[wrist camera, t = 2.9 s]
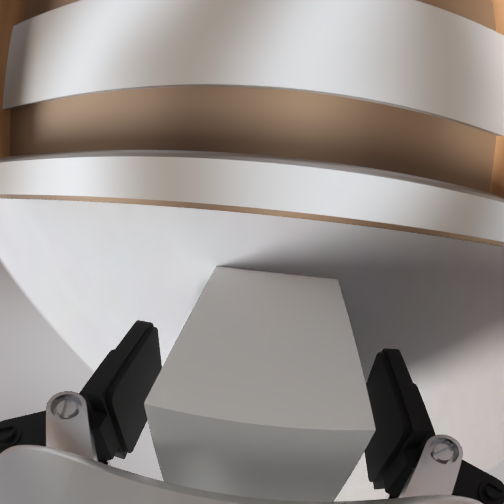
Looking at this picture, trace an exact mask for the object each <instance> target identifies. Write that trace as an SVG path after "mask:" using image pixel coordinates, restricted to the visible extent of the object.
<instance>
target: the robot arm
mask: <svg viewBox="0 0 504 504" xmlns="http://www.w3.org/2000/svg"><path fill="white" fill-rule="evenodd" d="M161 369H162V365H161V357H160V348H159V338H158V329H157V328H156V327H154V326H153V324H152V323H150V322H144V321H139V320H138V321H136V322H135V324H134V325H133V326H132V328H131V329H130V330H129V332H128V333H127V334H126V336H125V337H124V338H123V340H122V341H121V342H120V344H119V345H118V346H117V348H116V349H115V350H111V351H110V352H109V354H108V355H107V356H106V358H105V359H104V360H103V362H102V363H101V364H100V366H99V367H98V368H97V370H96V371H95V372H94V374H93V375H92V377H91V378H90V379H89V381H88V382H87V384H86V385H85V386H84V388H83V389H82V391H81V392H80V393H79V394H78V393H76V392H72V391H64V392H60V393H58V394H56V395H54V396H53V397H51V398H50V400H49V401H48V403H47V406H46V411H42V412H38V413H34V414H30V415H25V416H21V417H17V418H12V419H8V420H4V421H1V422H0V504H504V484H503V483H502V482H501V481H500V480H498V479H497V478H495V477H493V476H491V475H489V474H488V473H486V472H484V471H482V470H480V469H478V468H477V467H475V466H473V465H471V464H469V463H467V462H466V461H464V460H462V457H463V450H462V447H461V445H460V444H459V442H458V441H457V440H456V439H454V438H452V437H450V436H448V435H435V432H434V429H433V426H432V424H431V421H430V418H429V416H428V413H427V410H426V408H425V405H424V402H423V400H422V397H421V395H420V392H419V390H418V387H417V386H416V384H414V383H413V382H412V379H411V377H410V374H409V372H408V370H407V367H406V365H405V362H404V360H403V357H402V355H401V353H400V351H399V350H398V349H383V350H382V352H379V353H378V354H377V356H376V358H375V361H374V364H373V367H372V370H371V372H370V375H369V378H368V381H367V383H366V387H367V392H368V396H369V400H370V405H371V409H372V414H373V419H374V423H375V428H376V431H375V432H374V434H373V436H372V438H371V440H370V442H369V444H368V445H367V447H366V449H365V457H366V464H367V471H368V478H369V481H370V482H373V484H374V489H384V488H385V492H386V493H388V495H387V497H386V499H381V500H365V501H343V502H308V501H286V500H272V499H261V498H251V497H243V496H235V495H228V494H222V493H216V492H210V491H205V490H199V489H194V488H189V487H185V486H180V485H176V484H172V483H167V482H163V481H159V480H155V479H152V478H148V477H144V476H141V475H138V474H134V473H131V472H128V471H125V470H121V469H118V468H115V467H112V466H110V461H109V460H111V459H113V457H114V456H116V457H119V458H122V459H125V457H126V454H127V452H128V453H131V452H132V451H133V449H134V447H135V445H136V443H137V441H138V439H139V436H140V434H141V432H142V430H143V428H144V426H145V424H146V422H147V415H146V411H145V406H144V402H145V400H146V398H147V396H148V394H149V392H150V390H151V388H152V386H153V385H154V383H155V381H156V379H157V377H158V375H159V373H160V371H161Z"/></svg>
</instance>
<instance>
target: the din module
mask: <svg viewBox="0 0 504 504" xmlns="http://www.w3.org/2000/svg"><path fill="white" fill-rule="evenodd" d="M144 406H145V411H146V415H147V420H148V424H149V428H150V432H151V436H152V440H153V444H154V448H155V452H156V455H157V459H158V462H159V466H160V470H161V473H162V476H163V480H164V482H167V483H172V484H176V485H180V486H185V487H189V488H194V489H199V490H205V491H210V492H216V493H222V494H228V495H235V496H243V497H251V498H261V499H272V500H286V501H308V502H333V501H334V500H335V498H336V497H337V495H338V494H339V492H340V490H341V489H342V487H343V486H344V484H345V483H346V481H347V479H348V478H349V476H350V475H351V473H352V471H353V470H354V468H355V466H356V465H357V463H358V461H359V460H360V458H361V456H362V454H363V453H364V451H365V449H366V447H367V445H368V444H369V442H370V440H371V438H372V436H373V434H374V432H375V431H376V428H375V423H374V419H373V414H372V409H371V405H370V400H369V396H368V392H367V387H366V383H365V379H364V375H363V371H362V366H361V362H360V358H359V354H358V351H357V347H356V343H355V339H354V335H353V331H352V328H351V324H350V320H349V317H348V313H347V310H346V306H345V303H344V299H343V296H342V292H341V289H340V285H339V282H338V279H330V278H320V277H311V276H301V275H292V274H282V273H273V272H264V271H255V270H246V269H237V268H228V267H219V266H216V268H215V270H214V271H213V273H212V275H211V277H210V279H209V281H208V282H207V284H206V286H205V288H204V290H203V292H202V294H201V295H200V297H199V299H198V301H197V303H196V305H195V307H194V308H193V310H192V312H191V314H190V316H189V318H188V320H187V322H186V323H185V325H184V327H183V329H182V331H181V333H180V335H179V337H178V339H177V340H176V342H175V344H174V346H173V348H172V350H171V352H170V354H169V356H168V358H167V359H166V361H165V363H164V365H163V367H162V369H161V371H160V373H159V375H158V377H157V379H156V381H155V383H154V385H153V386H152V388H151V390H150V392H149V394H148V396H147V398H146V400H145V402H144Z"/></svg>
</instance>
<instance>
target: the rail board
mask: <svg viewBox="0 0 504 504" xmlns="http://www.w3.org/2000/svg"><path fill="white" fill-rule="evenodd" d="M0 198H9V199H44V200H69V201H91V202H109V203H126V204H142V205H157V206H171V207H184V208H197V209H209V210H220V211H231V212H242V213H253V214H263V215H273V216H283V217H292V218H301V219H310V220H319V221H328V222H336V223H345V224H353V225H361V226H368V227H376V228H384V229H391V230H399V231H406V232H413V233H420V234H427V235H433V236H440V237H447V238H453V239H459V240H466V241H472V242H478V243H484V244H490V245H496V246H502V245H503V242H504V0H0Z"/></svg>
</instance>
